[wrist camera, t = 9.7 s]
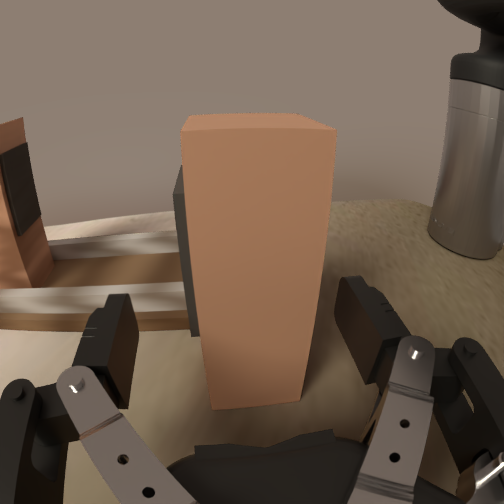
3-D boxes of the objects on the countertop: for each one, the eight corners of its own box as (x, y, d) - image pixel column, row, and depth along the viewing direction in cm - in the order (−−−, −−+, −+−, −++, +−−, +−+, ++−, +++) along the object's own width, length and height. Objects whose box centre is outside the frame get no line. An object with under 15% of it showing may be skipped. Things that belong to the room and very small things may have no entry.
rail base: (214, 249, 29) (207, 87, 22) (219, 327, 20) (207, 89, 13) (29, 261, 27) (-2, 124, 20) (-15, 327, 18) (-76, 155, 11)
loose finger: (282, 341, 19) (297, 113, 13) (299, 400, 15) (336, 129, 9) (201, 348, 19) (179, 116, 12) (204, 410, 15) (166, 132, 8)
